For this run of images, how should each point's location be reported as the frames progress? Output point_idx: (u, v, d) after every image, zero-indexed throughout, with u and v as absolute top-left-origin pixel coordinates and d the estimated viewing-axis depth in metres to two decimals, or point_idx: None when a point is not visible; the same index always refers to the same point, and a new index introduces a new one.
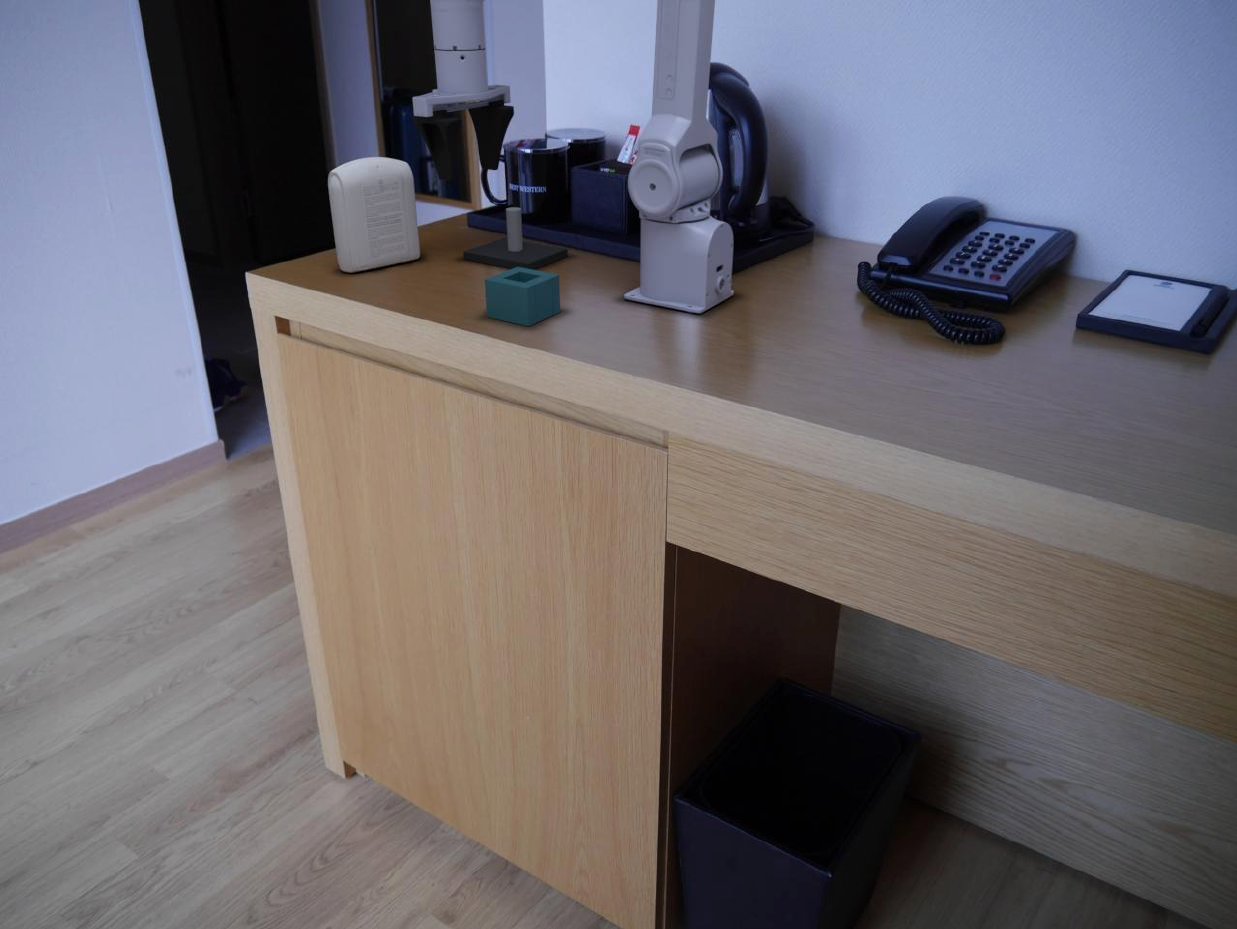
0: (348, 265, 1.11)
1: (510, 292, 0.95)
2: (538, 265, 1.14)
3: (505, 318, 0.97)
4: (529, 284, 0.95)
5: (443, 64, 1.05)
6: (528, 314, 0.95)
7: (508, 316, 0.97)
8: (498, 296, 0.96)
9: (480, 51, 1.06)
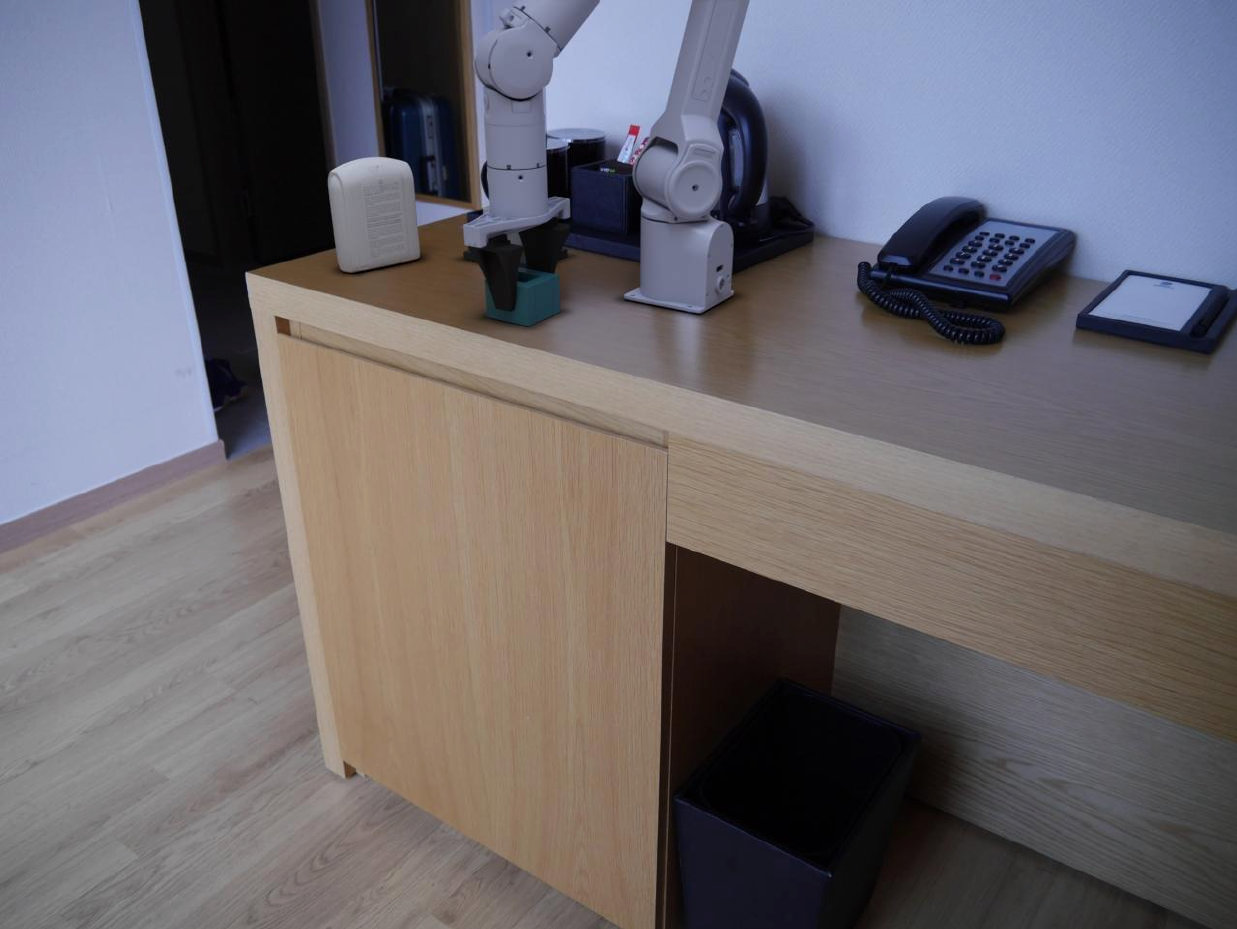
0: (348, 265, 1.11)
1: None
2: None
3: (505, 318, 0.97)
4: (529, 284, 0.95)
5: (497, 184, 0.91)
6: (528, 314, 0.95)
7: (508, 316, 0.97)
8: None
9: (541, 169, 0.91)
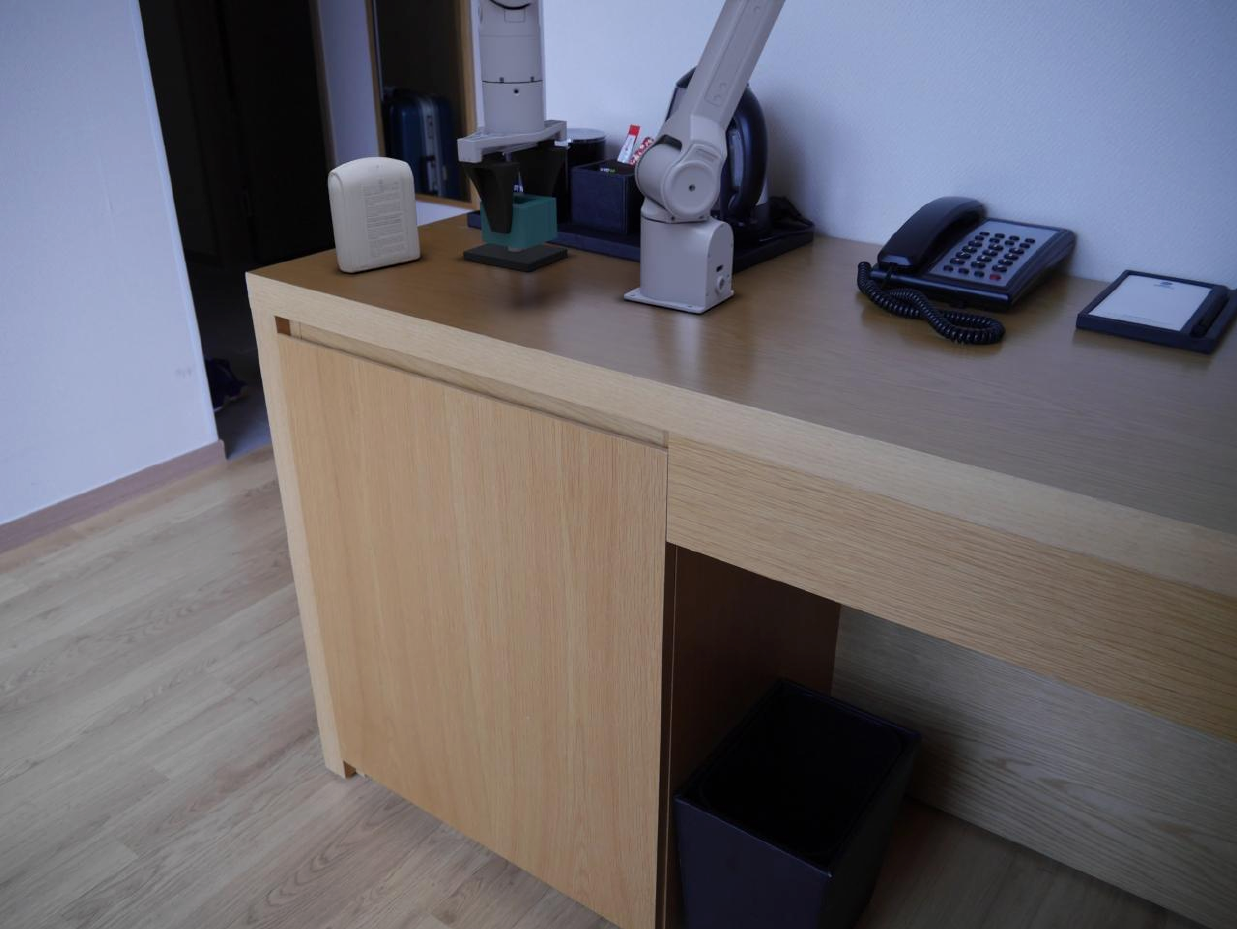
0: (348, 264, 1.11)
1: None
2: (538, 265, 1.14)
3: (501, 242, 0.95)
4: (526, 205, 0.92)
5: (493, 98, 0.88)
6: (524, 236, 0.93)
7: (504, 240, 0.94)
8: None
9: (537, 83, 0.89)
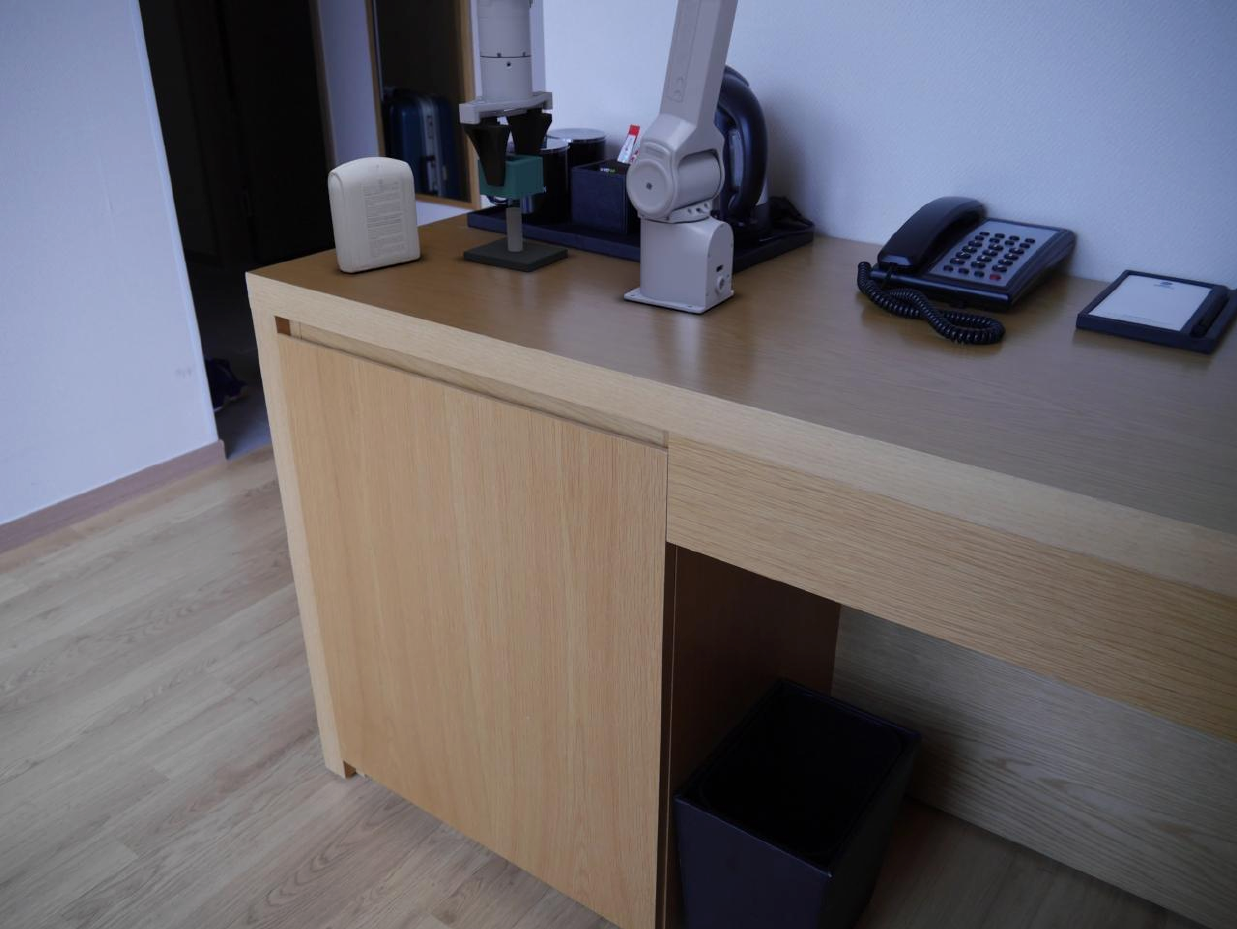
0: (348, 264, 1.11)
1: None
2: (538, 265, 1.14)
3: (495, 194, 1.11)
4: (516, 162, 1.09)
5: (489, 70, 1.05)
6: (515, 188, 1.10)
7: (497, 192, 1.11)
8: None
9: (526, 58, 1.05)
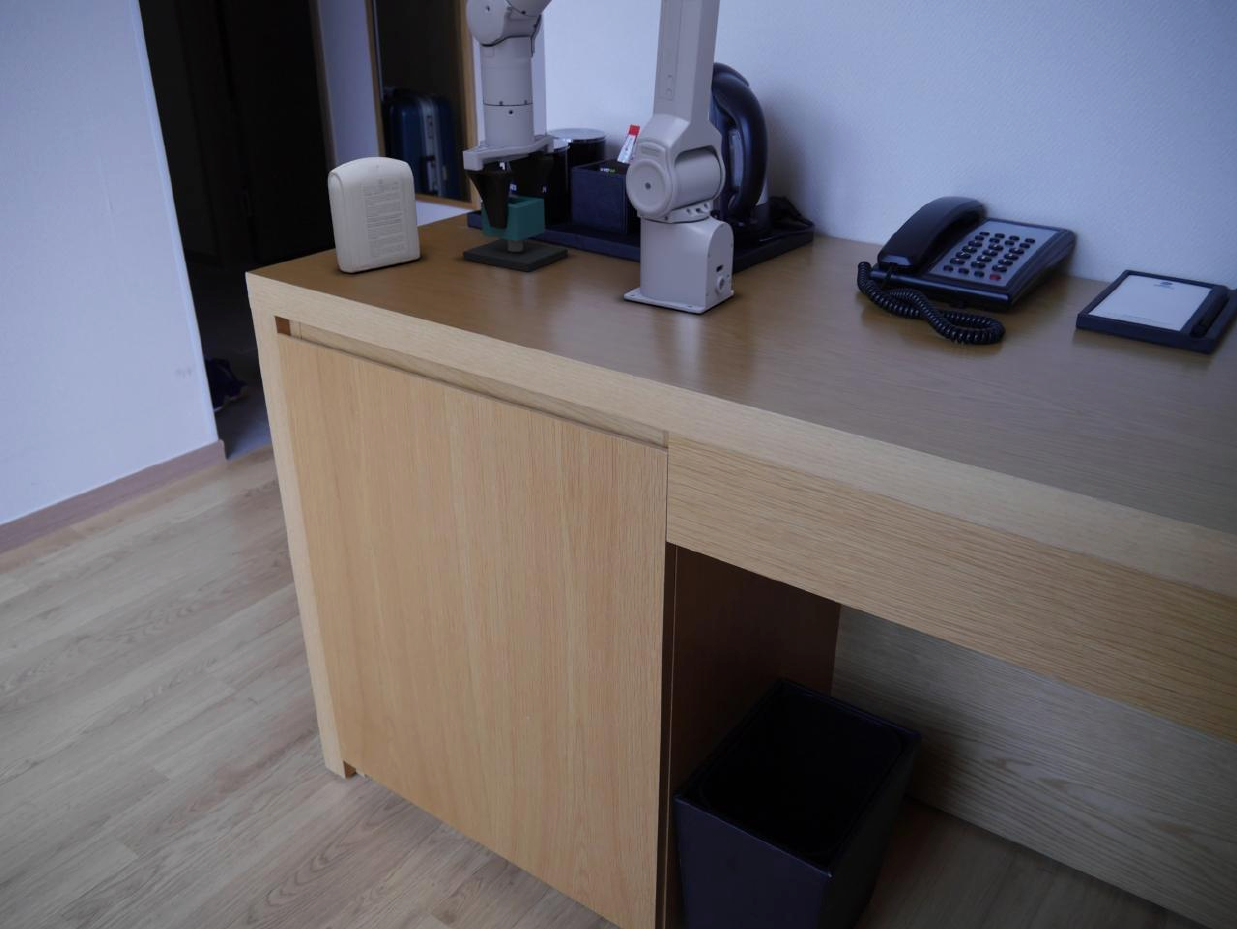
0: (348, 265, 1.11)
1: None
2: (538, 265, 1.14)
3: (498, 235, 1.15)
4: (518, 205, 1.12)
5: (492, 118, 1.08)
6: (517, 230, 1.13)
7: (500, 233, 1.14)
8: None
9: (528, 106, 1.08)
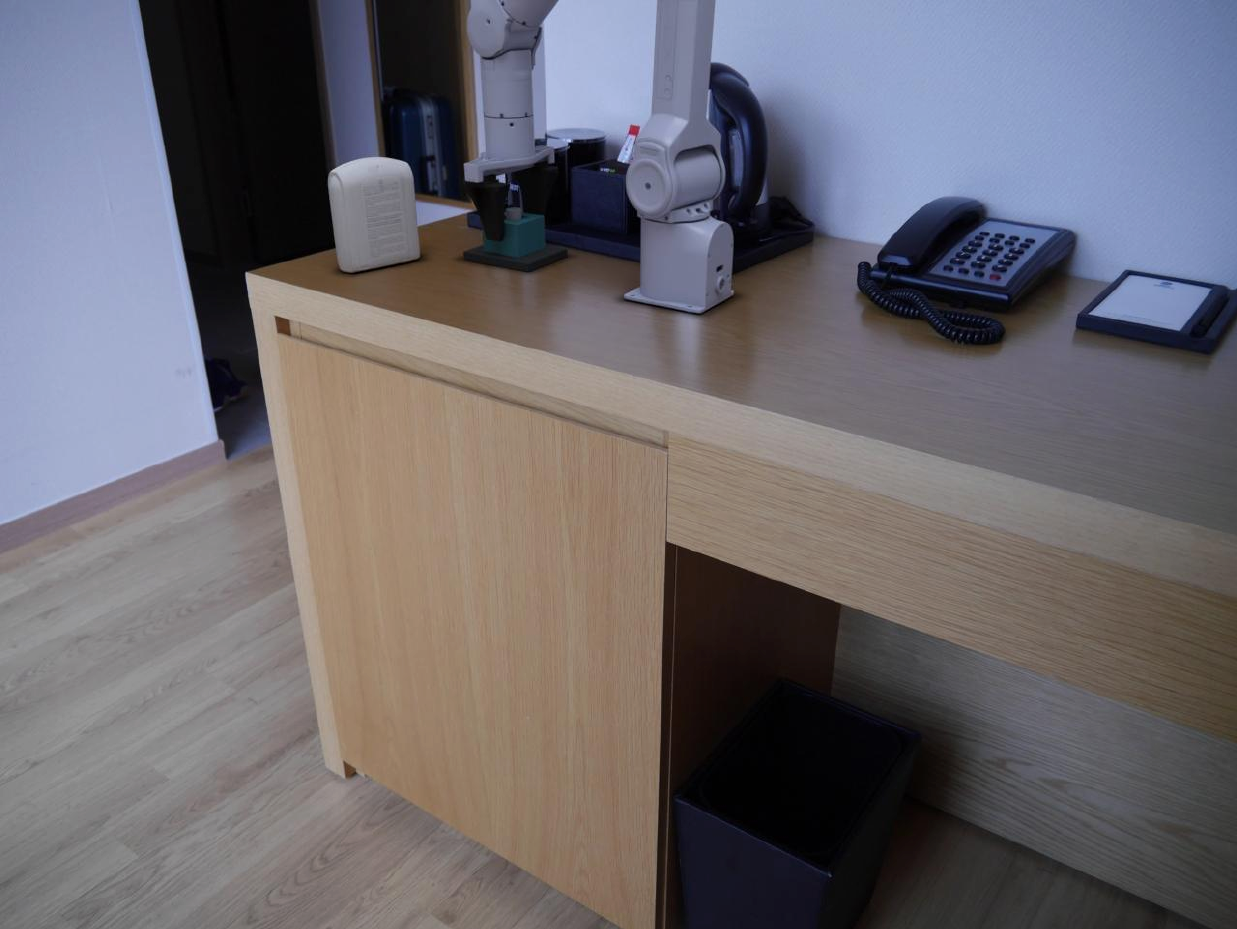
0: (348, 264, 1.11)
1: None
2: (538, 265, 1.14)
3: (499, 252, 1.16)
4: (519, 222, 1.13)
5: (492, 130, 1.09)
6: (518, 247, 1.14)
7: (501, 250, 1.15)
8: None
9: (528, 118, 1.09)
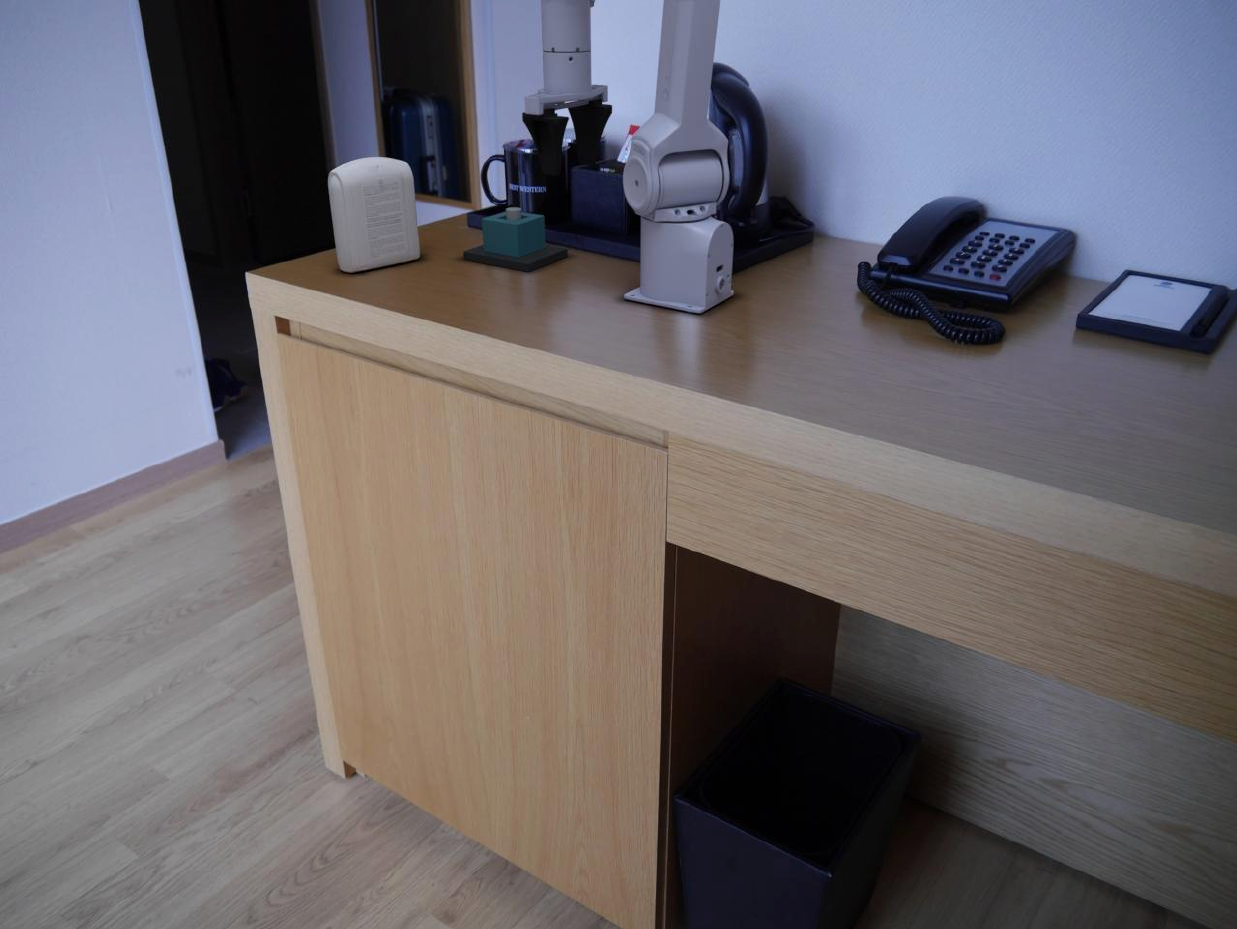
0: (348, 264, 1.11)
1: (503, 229, 1.14)
2: (538, 265, 1.14)
3: (499, 252, 1.16)
4: (519, 222, 1.13)
5: (552, 65, 1.12)
6: (518, 247, 1.14)
7: (501, 250, 1.15)
8: (493, 233, 1.15)
9: (587, 53, 1.12)
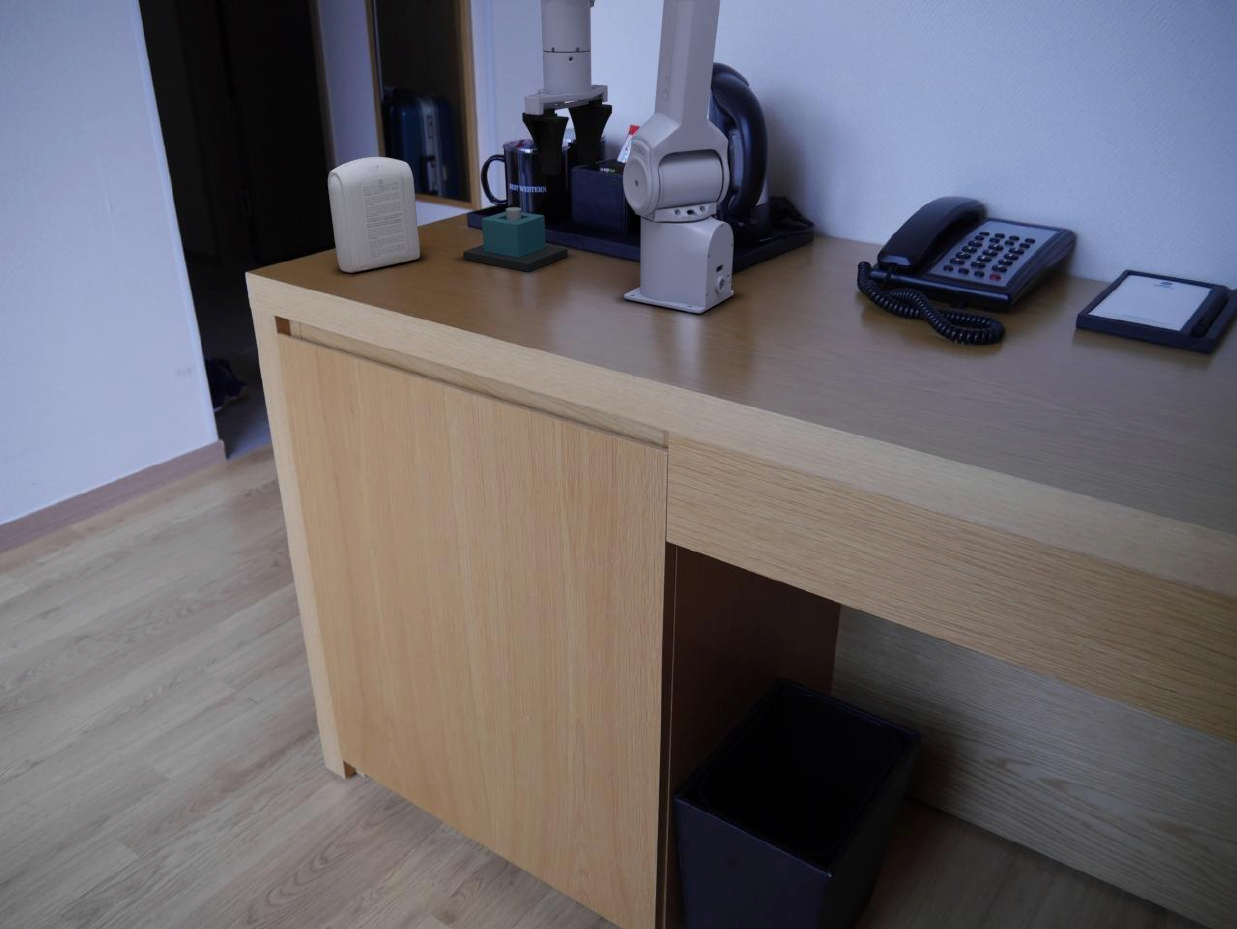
0: (348, 264, 1.11)
1: (503, 229, 1.14)
2: (538, 265, 1.14)
3: (499, 252, 1.16)
4: (519, 222, 1.13)
5: (552, 65, 1.12)
6: (518, 247, 1.14)
7: (501, 250, 1.15)
8: (493, 233, 1.15)
9: (587, 53, 1.12)
